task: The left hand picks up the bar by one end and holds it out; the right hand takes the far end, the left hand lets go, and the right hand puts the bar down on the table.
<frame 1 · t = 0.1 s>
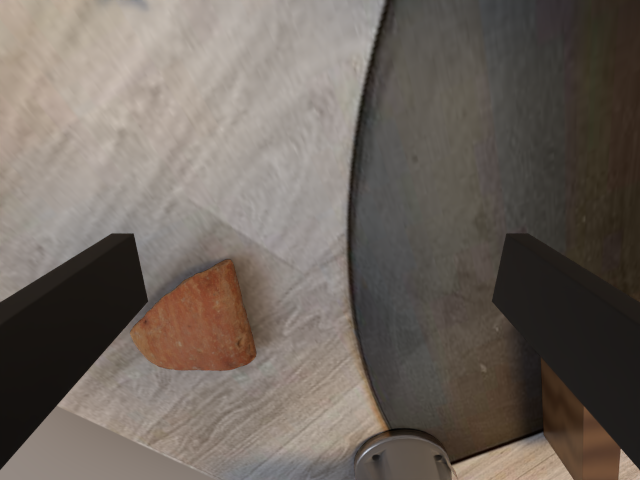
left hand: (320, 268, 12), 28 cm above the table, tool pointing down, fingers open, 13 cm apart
ceramic shard: (194, 311, 46), on the table
bar: (557, 375, 50), on the table
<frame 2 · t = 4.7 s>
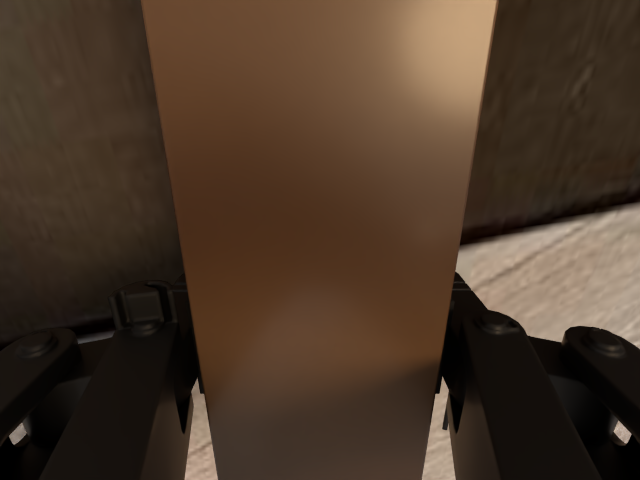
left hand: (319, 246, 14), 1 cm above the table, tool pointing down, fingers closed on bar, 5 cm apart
bar: (319, 9, 12), on the table, touching left hand
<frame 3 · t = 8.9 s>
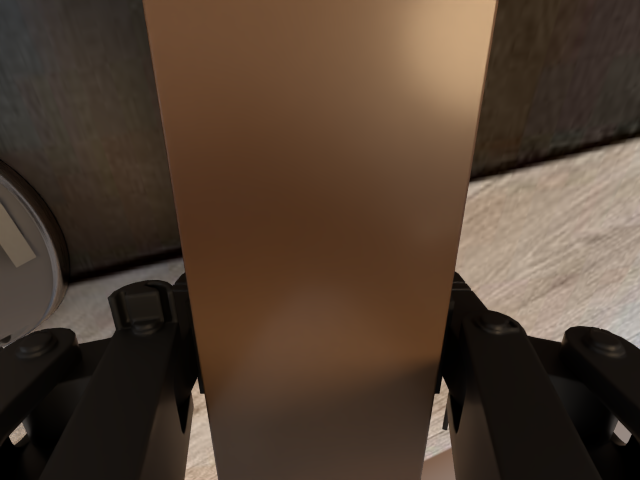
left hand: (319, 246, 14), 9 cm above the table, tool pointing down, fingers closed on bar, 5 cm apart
bar: (320, 10, 12), point 8 cm above the table, touching left hand, right hand
when the left hand's fingers open (9 cm above the table, at t = 9.6 s): bar stays where it is, held by the right hand.
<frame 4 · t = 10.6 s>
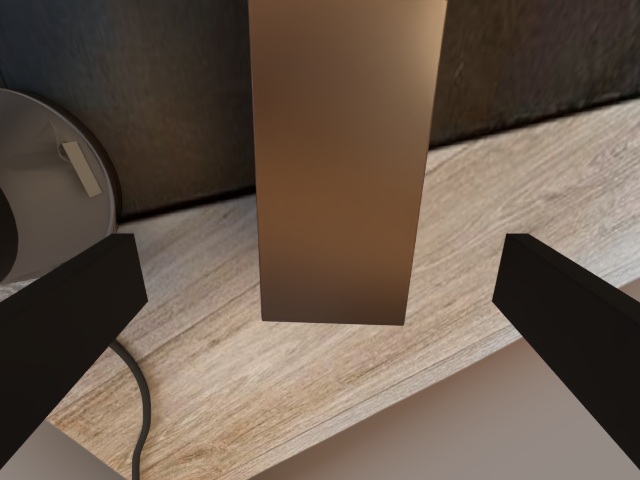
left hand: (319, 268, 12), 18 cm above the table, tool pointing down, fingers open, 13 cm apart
when the right hand's fingers open (4 cm above the table, at t = 17.0 s): bar stays where it is, on the table.
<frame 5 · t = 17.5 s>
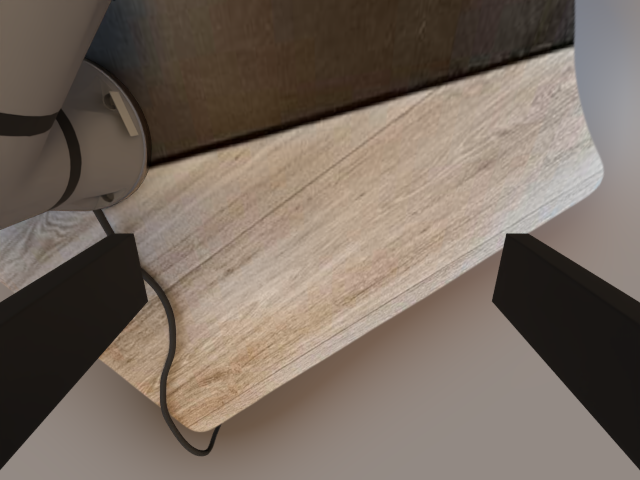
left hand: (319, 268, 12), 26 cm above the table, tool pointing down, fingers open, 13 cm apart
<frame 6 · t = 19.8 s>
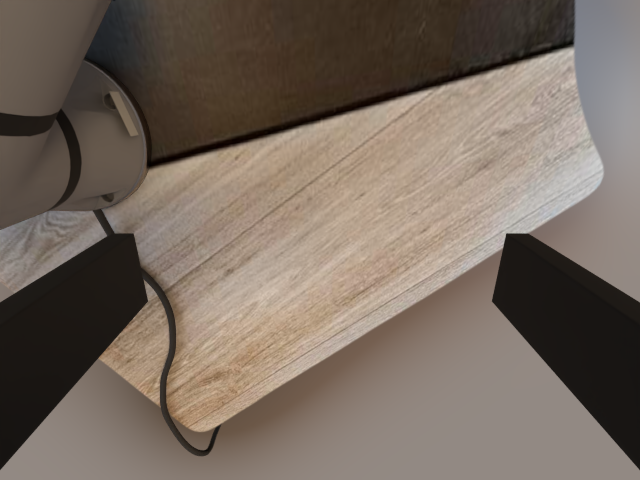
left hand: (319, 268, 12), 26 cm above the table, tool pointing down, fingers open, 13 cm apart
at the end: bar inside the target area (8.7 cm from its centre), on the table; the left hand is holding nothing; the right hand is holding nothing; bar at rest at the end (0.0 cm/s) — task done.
